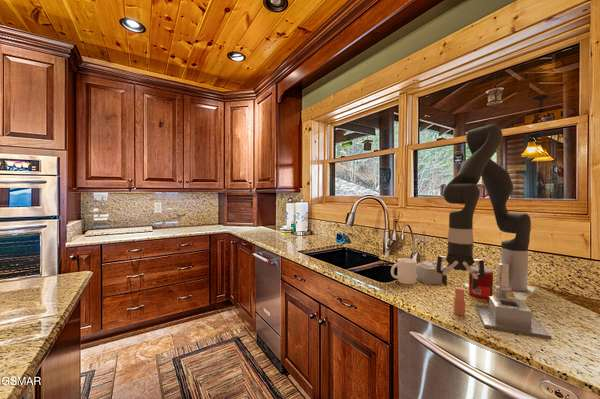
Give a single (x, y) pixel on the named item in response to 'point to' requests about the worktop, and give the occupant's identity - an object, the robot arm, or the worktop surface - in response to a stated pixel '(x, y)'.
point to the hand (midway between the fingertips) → (459, 287)
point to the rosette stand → (509, 310)
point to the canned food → (482, 283)
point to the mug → (405, 271)
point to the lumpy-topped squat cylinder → (429, 272)
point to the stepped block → (459, 301)
